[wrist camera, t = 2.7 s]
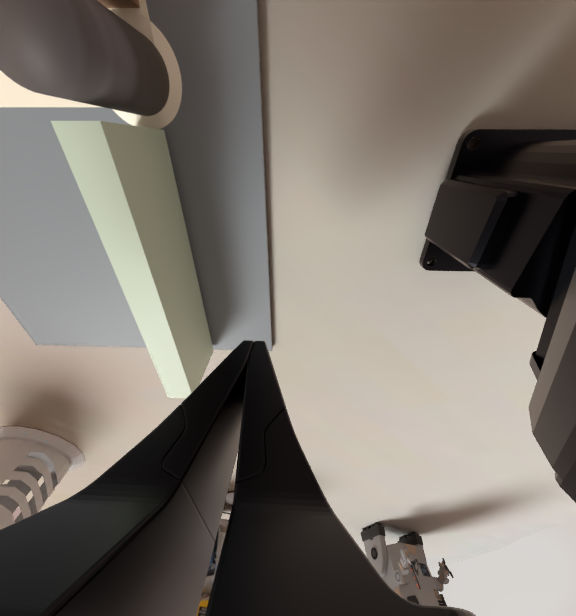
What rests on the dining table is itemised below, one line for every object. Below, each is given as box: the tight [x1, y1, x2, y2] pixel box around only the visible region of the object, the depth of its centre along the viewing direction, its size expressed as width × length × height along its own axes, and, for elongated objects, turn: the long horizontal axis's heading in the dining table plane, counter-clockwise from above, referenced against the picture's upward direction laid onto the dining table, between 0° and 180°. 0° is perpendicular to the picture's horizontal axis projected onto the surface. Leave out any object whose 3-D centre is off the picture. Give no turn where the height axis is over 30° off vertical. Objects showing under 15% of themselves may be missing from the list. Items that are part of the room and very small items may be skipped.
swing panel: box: [51, 121, 213, 398], centre depth 12 cm, size 2×13×4 cm, turn 0°
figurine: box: [361, 523, 453, 607], centre depth 32 cm, size 9×12×15 cm
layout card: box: [0, 0, 272, 351], centre depth 10 cm, size 18×30×1 cm, turn 0°
